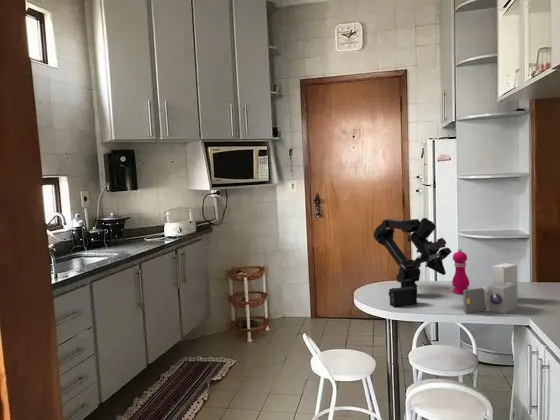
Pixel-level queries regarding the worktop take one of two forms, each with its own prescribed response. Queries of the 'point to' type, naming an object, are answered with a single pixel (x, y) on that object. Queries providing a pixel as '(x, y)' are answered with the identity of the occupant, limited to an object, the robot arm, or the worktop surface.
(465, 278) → the pepper mill
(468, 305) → the side door
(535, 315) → the worktop surface
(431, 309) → the worktop surface
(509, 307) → the camera housing
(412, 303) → the digital camera
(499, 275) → the skincare box
